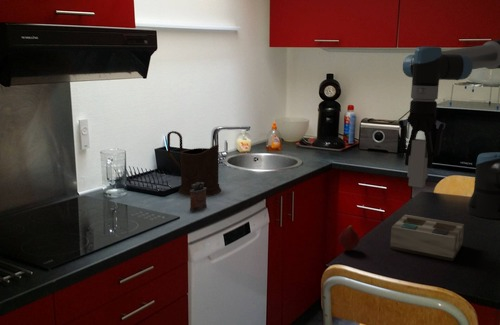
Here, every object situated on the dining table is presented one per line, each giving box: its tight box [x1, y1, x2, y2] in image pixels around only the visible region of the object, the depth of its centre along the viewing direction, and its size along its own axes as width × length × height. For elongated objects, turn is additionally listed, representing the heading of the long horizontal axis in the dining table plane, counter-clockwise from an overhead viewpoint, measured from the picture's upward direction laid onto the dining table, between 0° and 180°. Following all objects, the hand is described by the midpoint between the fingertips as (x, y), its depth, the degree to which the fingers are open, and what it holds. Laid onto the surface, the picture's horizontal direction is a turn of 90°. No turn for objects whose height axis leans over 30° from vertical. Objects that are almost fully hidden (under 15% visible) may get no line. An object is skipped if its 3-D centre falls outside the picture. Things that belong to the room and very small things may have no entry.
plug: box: [407, 138, 427, 189], centre depth 160 cm, size 4×4×14 cm
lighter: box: [189, 182, 208, 212], centre depth 198 cm, size 8×3×10 cm, turn 145°
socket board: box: [389, 214, 465, 262], centre depth 161 cm, size 15×18×7 cm
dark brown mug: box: [166, 130, 223, 197], centre depth 224 cm, size 18×24×25 cm
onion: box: [338, 225, 360, 252], centre depth 157 cm, size 6×6×8 cm
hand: (417, 177), depth 161 cm, fingers closed on plug, 4 cm apart
